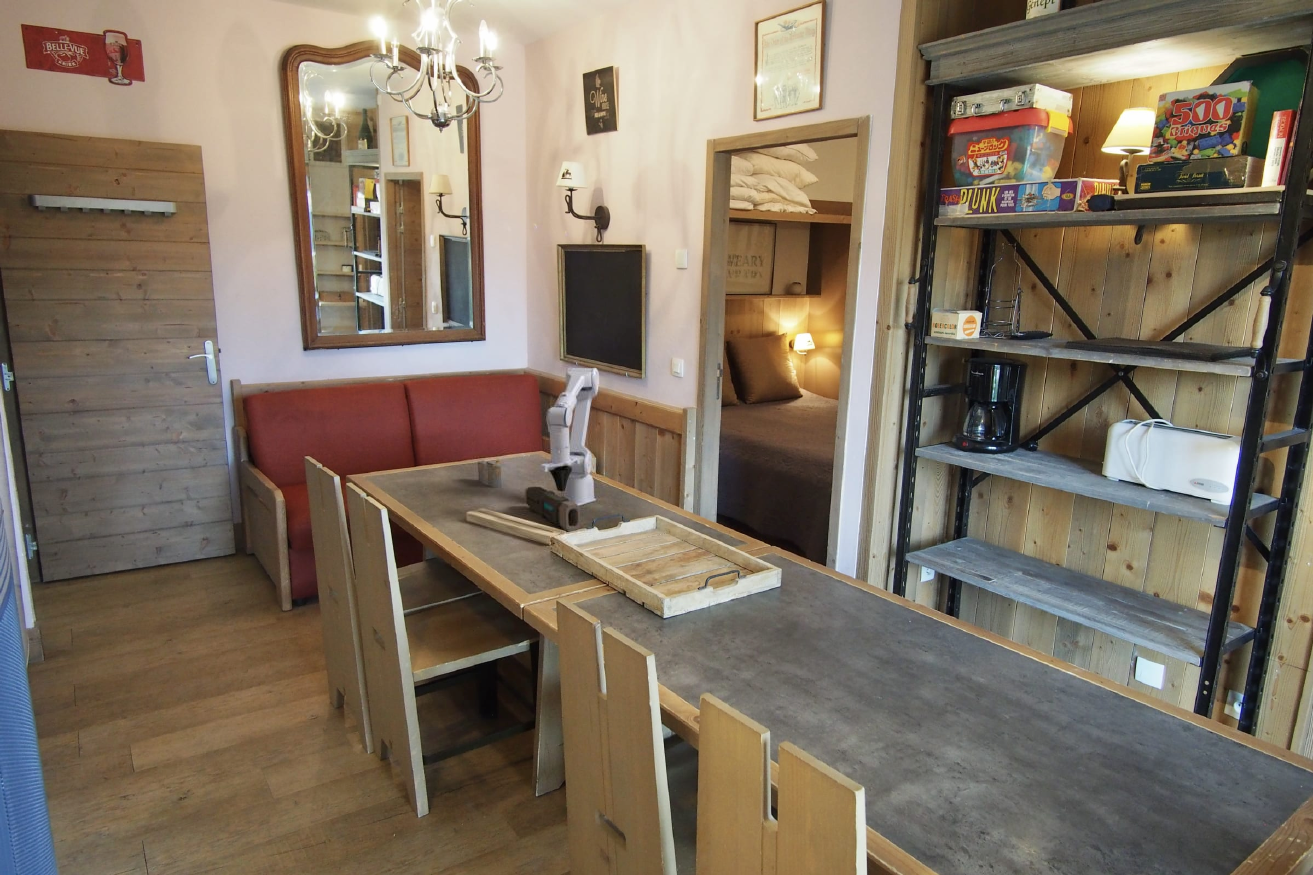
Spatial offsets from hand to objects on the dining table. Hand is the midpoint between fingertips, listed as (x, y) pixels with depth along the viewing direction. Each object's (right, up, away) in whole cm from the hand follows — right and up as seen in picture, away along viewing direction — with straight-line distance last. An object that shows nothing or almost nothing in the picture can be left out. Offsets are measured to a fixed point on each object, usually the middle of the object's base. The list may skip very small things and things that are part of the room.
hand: (561, 490), depth 246 cm
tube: (-3, -9, -2) cm, 9 cm away
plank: (-12, -10, -13) cm, 20 cm away
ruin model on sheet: (-29, -1, +38) cm, 48 cm away
